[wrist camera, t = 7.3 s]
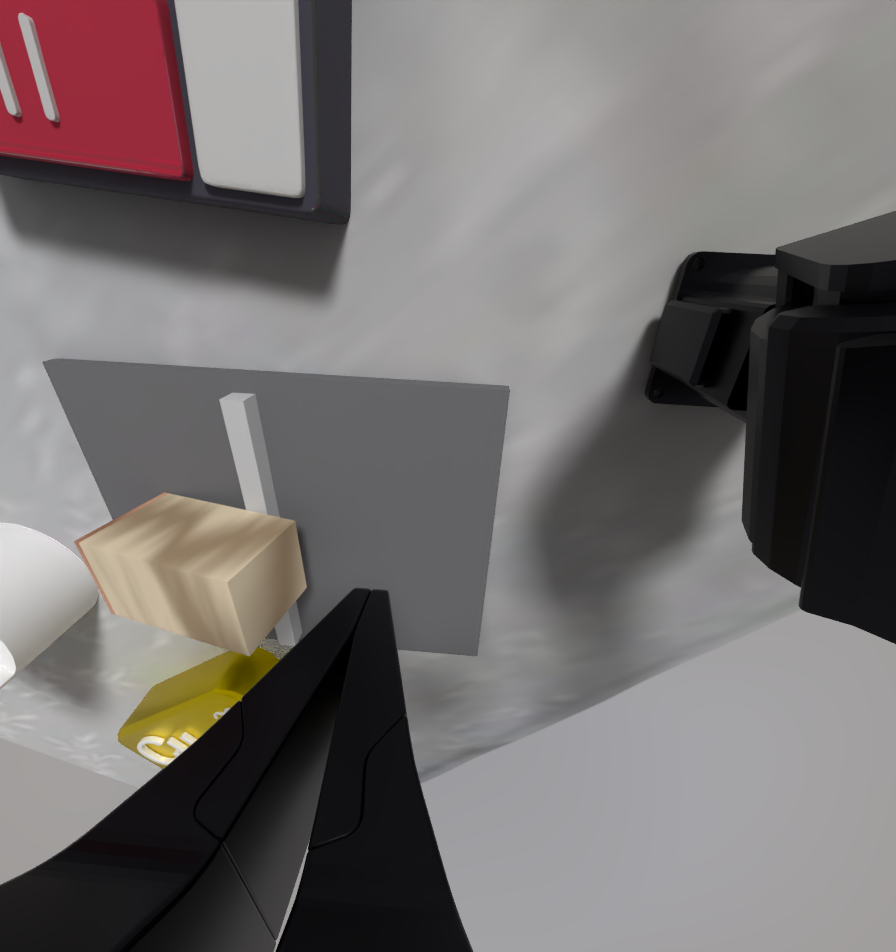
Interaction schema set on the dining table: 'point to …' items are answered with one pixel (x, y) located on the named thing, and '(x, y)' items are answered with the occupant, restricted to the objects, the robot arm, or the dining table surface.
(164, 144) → the calculator
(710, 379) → the robot arm
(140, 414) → the mat
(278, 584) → the beech block
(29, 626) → the cylinder with rectangular tab
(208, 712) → the element tile
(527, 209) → the dining table surface
